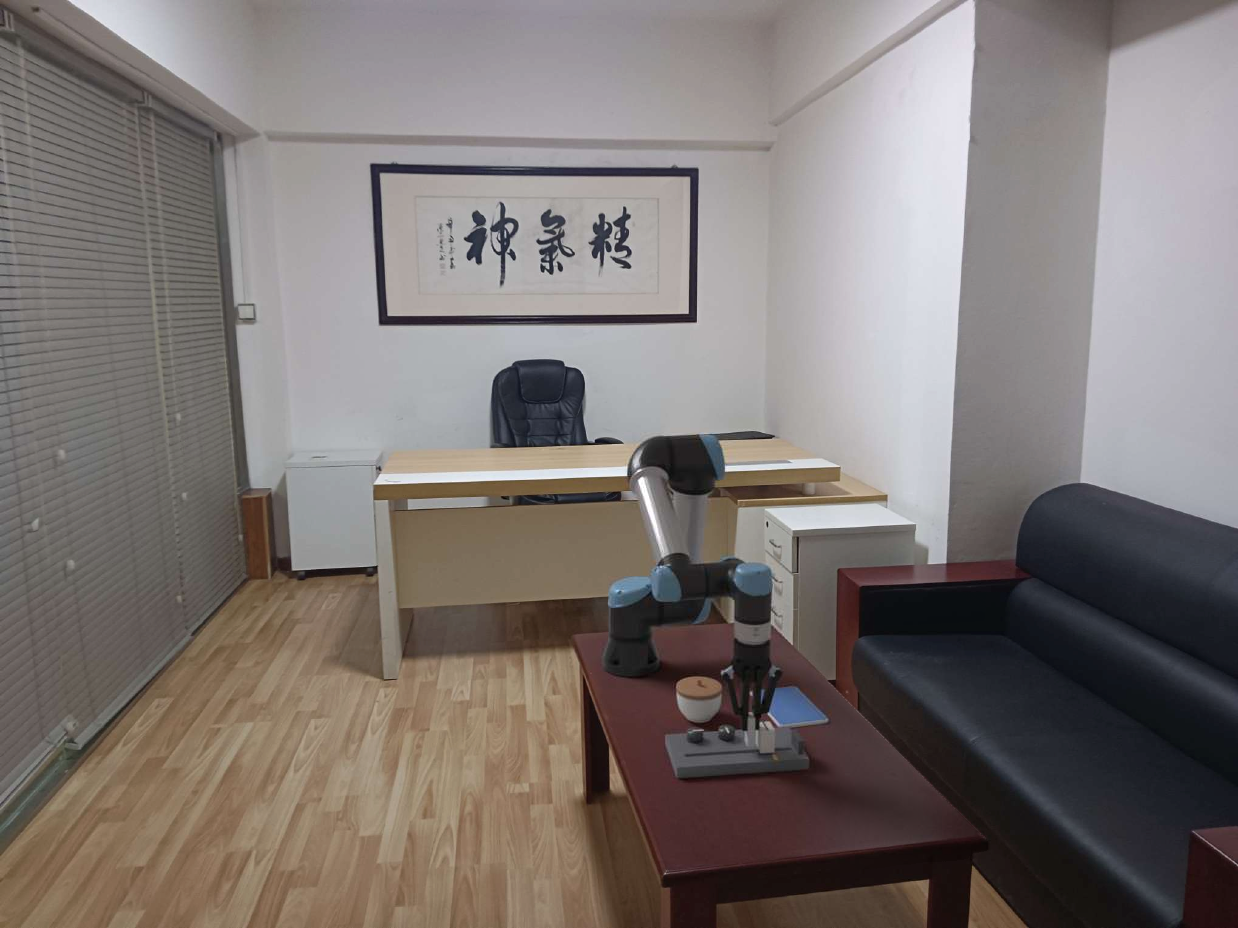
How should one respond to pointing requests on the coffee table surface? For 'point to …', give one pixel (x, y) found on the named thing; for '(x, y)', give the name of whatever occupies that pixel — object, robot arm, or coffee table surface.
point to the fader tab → (765, 738)
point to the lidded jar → (699, 698)
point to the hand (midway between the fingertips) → (749, 743)
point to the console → (732, 752)
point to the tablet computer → (793, 708)
